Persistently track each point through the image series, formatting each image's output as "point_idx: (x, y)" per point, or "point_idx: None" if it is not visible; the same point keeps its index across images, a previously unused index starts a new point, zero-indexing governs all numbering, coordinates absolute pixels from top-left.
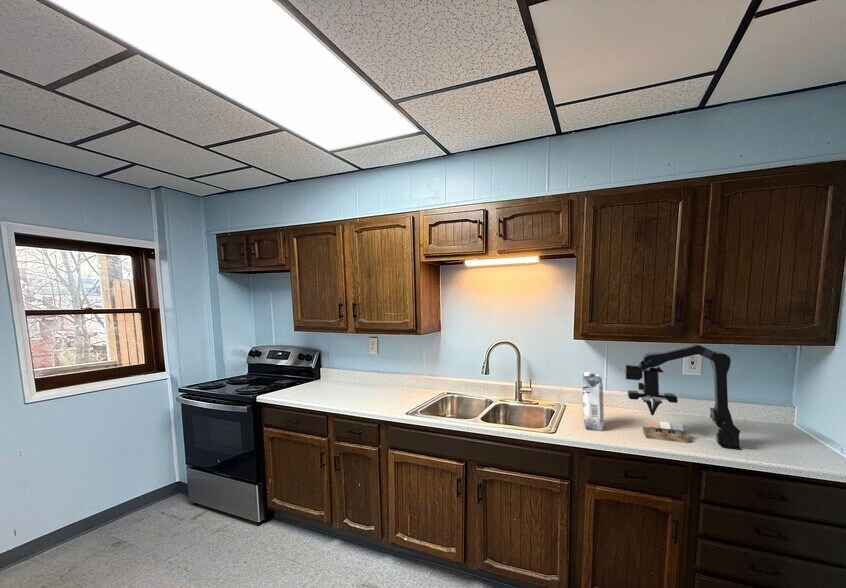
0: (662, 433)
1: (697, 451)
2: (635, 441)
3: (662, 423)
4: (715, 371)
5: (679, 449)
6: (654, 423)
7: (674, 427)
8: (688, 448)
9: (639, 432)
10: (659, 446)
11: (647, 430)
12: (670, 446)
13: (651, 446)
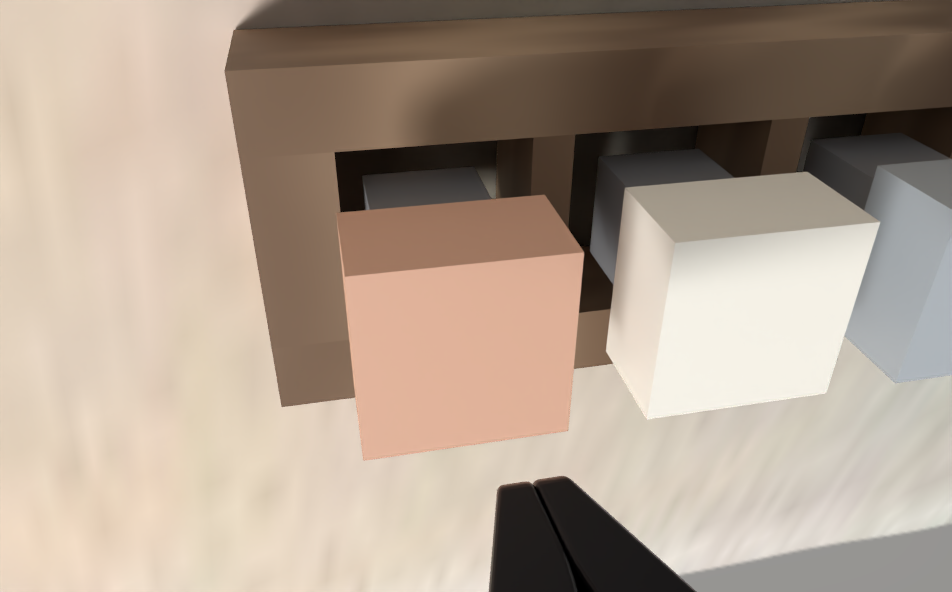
0: (577, 362)
1: (827, 480)
2: (124, 529)
3: (687, 390)
4: None
5: (653, 514)
6: (500, 431)
7: (870, 345)
8: (771, 444)
9: (151, 68)
10: (441, 538)
11: (320, 325)
12: (578, 480)
13: (341, 580)
